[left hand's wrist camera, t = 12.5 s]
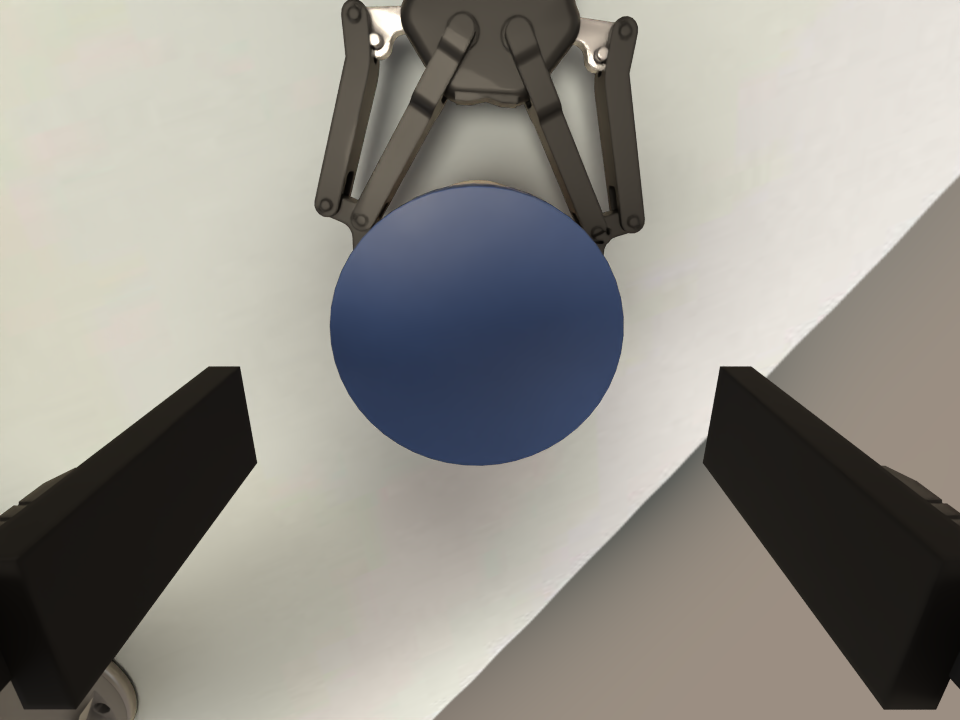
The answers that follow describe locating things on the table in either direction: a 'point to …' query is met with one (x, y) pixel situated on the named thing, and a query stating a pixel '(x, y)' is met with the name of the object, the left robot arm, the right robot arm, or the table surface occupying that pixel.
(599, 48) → the right robot arm
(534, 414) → the lid
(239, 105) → the table surface
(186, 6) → the table surface
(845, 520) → the left robot arm
